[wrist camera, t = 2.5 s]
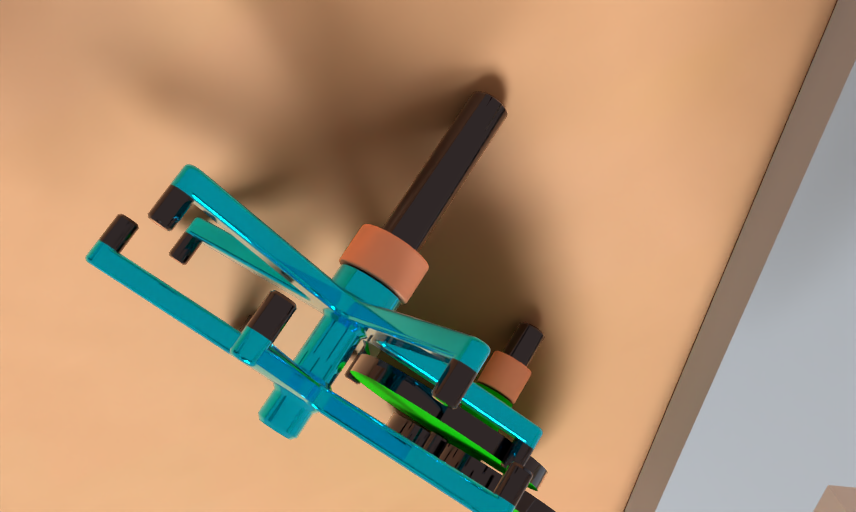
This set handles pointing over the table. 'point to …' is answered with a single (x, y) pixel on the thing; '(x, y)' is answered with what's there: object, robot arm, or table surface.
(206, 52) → the table surface
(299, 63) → the table surface
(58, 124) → the table surface
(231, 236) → the teal multi-armed frame
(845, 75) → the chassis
